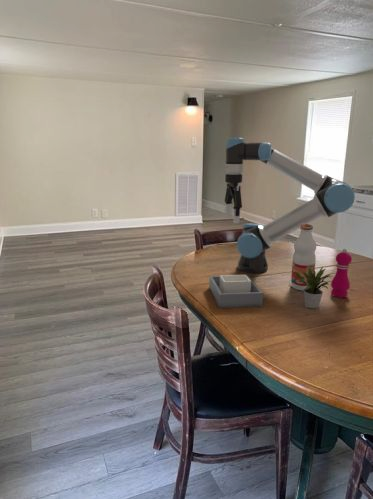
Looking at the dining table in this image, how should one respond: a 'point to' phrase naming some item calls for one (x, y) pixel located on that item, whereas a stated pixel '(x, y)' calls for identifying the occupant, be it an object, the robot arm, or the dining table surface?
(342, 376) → the dining table surface
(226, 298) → the slate crate
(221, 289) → the white crate
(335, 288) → the pepper mill
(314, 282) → the house plant
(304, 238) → the fruit juice
